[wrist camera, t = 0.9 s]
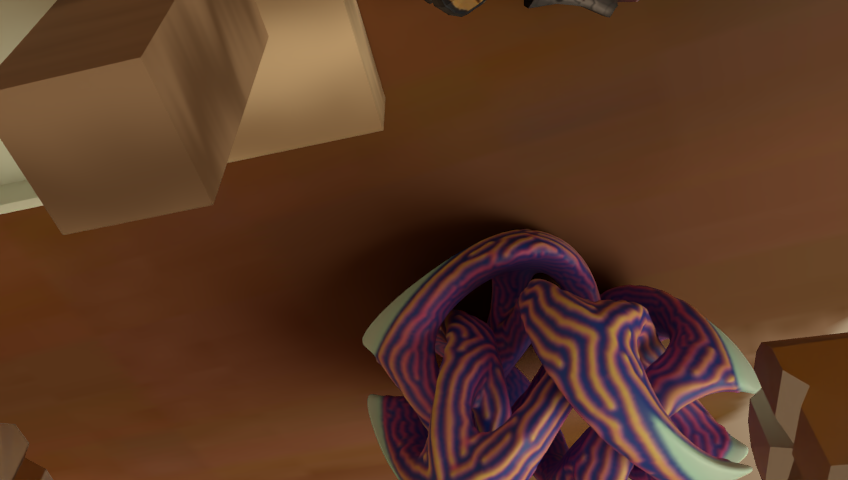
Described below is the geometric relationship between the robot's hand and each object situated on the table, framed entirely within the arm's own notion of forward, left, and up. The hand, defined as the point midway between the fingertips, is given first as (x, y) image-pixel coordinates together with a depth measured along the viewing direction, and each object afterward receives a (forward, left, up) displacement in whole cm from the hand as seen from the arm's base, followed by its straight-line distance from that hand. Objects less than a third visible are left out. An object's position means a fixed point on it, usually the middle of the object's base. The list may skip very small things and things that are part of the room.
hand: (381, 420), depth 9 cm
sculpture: (+26, +1, -30) cm, 40 cm away
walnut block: (+3, -10, -26) cm, 28 cm away
